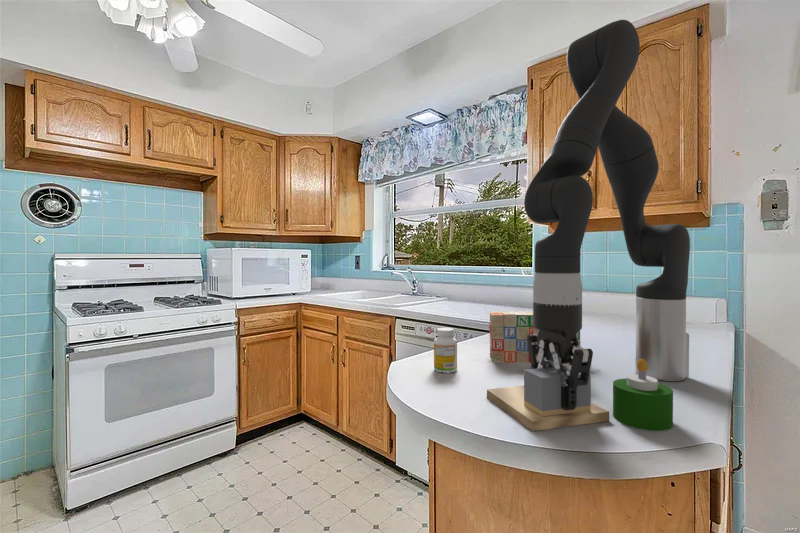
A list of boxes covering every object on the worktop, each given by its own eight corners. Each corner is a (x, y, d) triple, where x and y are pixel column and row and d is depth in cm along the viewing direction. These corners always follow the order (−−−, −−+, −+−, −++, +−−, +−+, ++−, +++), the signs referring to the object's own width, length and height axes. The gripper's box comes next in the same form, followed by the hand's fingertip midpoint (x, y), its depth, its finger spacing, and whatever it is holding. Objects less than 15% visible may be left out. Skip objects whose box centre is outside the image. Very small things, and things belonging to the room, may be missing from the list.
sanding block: (524, 405, 66) (524, 369, 66) (569, 400, 69) (569, 365, 68) (542, 416, 61) (542, 378, 61) (590, 410, 64) (590, 373, 64)
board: (551, 390, 78) (551, 382, 78) (609, 420, 63) (609, 411, 63) (486, 397, 74) (486, 389, 74) (532, 431, 60) (532, 421, 60)
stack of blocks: (573, 358, 102) (573, 311, 102) (580, 365, 96) (580, 315, 96) (489, 356, 106) (489, 310, 105) (491, 362, 99) (491, 313, 99)
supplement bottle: (441, 365, 96) (441, 326, 96) (461, 369, 93) (461, 328, 93) (429, 371, 92) (429, 329, 92) (450, 374, 89) (449, 332, 89)
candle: (686, 428, 61) (687, 363, 60) (640, 433, 59) (641, 367, 59) (642, 408, 69) (643, 351, 69) (601, 412, 67) (601, 354, 67)
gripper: (609, 304, 59) (609, 417, 59) (549, 296, 73) (549, 387, 73) (566, 305, 57) (566, 422, 57) (513, 297, 71) (513, 391, 71)
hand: (556, 402), depth 65 cm, fingers closed on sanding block, 5 cm apart
